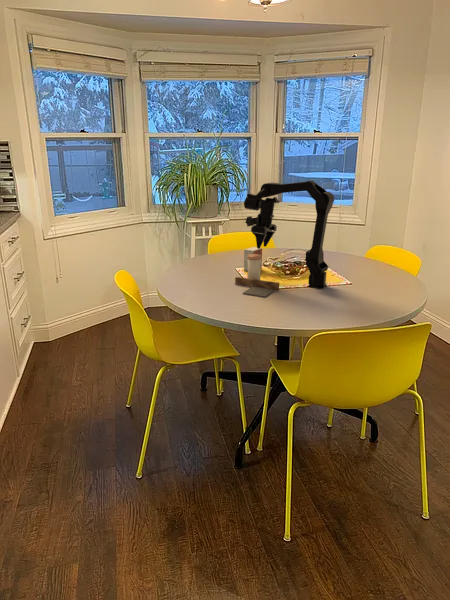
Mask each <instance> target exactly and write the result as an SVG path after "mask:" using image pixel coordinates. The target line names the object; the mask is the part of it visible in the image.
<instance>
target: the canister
mask: <svg viewBox="0 0 450 600" xmlns="http://www.w3.org/2000/svg"><path fill="white" fill-rule="evenodd" d="M247 258H248V271H247V278H249V279H256V280H261V269H260V267H261V255H259V254H250V255H248V256H247Z"/></svg>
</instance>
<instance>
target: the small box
mask: <svg viewBox="0 0 450 600" xmlns="http://www.w3.org/2000/svg"><path fill="white" fill-rule="evenodd" d="M250 254H259V255H261V267H260V270H262V269H263V267H262V265H263V264H262V263H263V248H262V247H260V249H258V248H257V246H252V247H249V248H245V249H243V271H244V272H248V258H247V256H248V255H250Z"/></svg>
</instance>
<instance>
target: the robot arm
mask: <svg viewBox="0 0 450 600" xmlns="http://www.w3.org/2000/svg"><path fill="white" fill-rule="evenodd" d="M294 192H295V193H297V192H307V193H308V194H309V196H310V197H311V198H312V199H313V200H314V201H315V211H316V218H315V225H314V231H313V236H312V243H311V248H310V249H309V250H307V251H305V258H304V260H303V262H305V266H306V267H307V268H308V271H309V275H308V287H310V288H314V289H315V288H316V289H321V290H322V289H324V288H326V286H327V273H328V272H327V271H328V269H329V265H328V264H327V263H326V262H325V259H324V257H325V254H324V250H323V249H324V248H323V246H324V240H325V234H326V229H327V223H328V217H329V214H330V212H331V209H332V207H333V205H334V202H335V195H334V194H333V193H332V192H330V191H327V190H326V189H325V188H323V187H322V186H320V184H317V183H316V182H315V180H307V181H301V182H290V183H279V182H267V183H263V184H262V185H261V187H260V190H259V191H258V192H257V194H253V193H247V194H246V197H245V198H244V201H243V206H244V209H246V210H250V211H259V210H260V211H259V213H258V214H257V215H256V217H252V216H250V215H249V216H246V219H245V222H244V223H245V224H246V227H250V228H251V229H250V232H251V234H252V235H254V237H255V242H256V247H257V248H258V249H260V248H262V245H263V247H266V248H267V246H268V244H269V243H270V240H272V238H273V236H274V234H275V233H276V231H277V225H276V224H275V223H274V224H273V218H274V217H275V215H274V210H275V209H274V208H275V204H279V203H280V200H279V199H278V198H277V195H281V194H285V193H287V194H288V193H294ZM273 196H274V197H273ZM272 197H273V198H272ZM263 198H264V199H263Z"/></svg>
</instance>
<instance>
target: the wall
mask: <svg viewBox="0 0 450 600" xmlns="http://www.w3.org/2000/svg"><path fill="white" fill-rule="evenodd" d="M234 285H239V286H247V287H260V288H266V289H273V290H274V291H279V290H280V282H276V281H269V280H264V279H263V280H262V279H260V280H256V279H249V278H248V277H241V276H235V278H234Z"/></svg>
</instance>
